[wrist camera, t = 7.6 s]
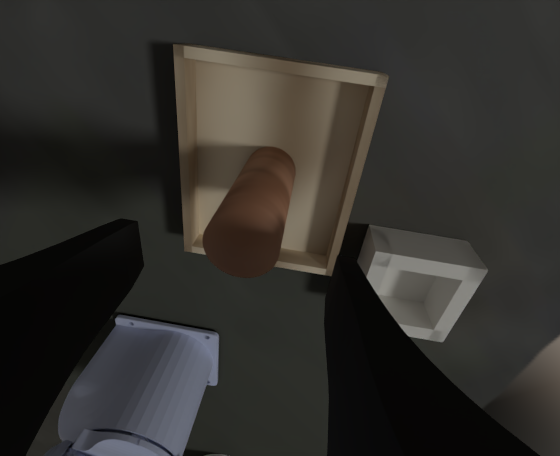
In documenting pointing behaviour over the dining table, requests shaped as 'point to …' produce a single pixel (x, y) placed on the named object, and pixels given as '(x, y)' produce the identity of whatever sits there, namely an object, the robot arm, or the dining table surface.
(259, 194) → the pin
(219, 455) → the foam cup
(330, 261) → the tray
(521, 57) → the dining table surface
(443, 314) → the gray square open box
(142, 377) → the robot arm
